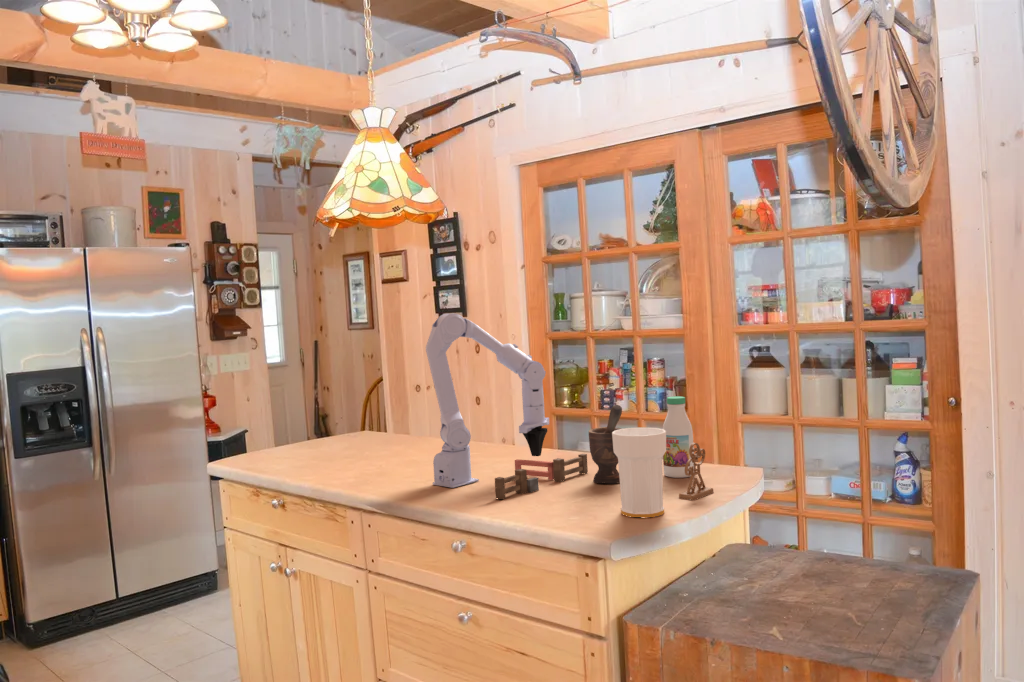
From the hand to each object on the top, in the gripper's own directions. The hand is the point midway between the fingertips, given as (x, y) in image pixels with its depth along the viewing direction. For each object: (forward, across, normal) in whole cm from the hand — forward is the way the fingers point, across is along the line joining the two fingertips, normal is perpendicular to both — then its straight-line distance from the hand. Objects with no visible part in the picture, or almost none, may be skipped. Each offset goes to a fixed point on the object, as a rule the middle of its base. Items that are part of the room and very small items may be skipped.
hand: (536, 455), depth 214 cm
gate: (+5, -6, -2) cm, 8 cm away
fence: (+5, -12, -8) cm, 15 cm away
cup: (+5, -30, -39) cm, 50 cm away
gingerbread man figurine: (+5, -12, -46) cm, 48 cm away
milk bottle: (+5, +7, -37) cm, 38 cm away
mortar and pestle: (+5, -5, -23) cm, 24 cm away
